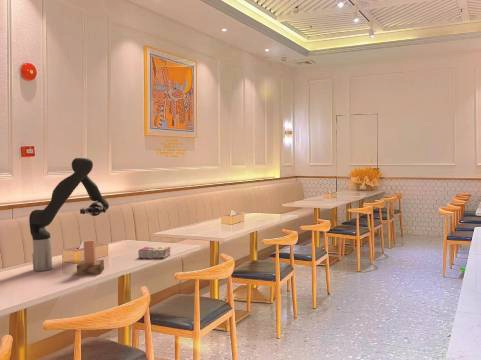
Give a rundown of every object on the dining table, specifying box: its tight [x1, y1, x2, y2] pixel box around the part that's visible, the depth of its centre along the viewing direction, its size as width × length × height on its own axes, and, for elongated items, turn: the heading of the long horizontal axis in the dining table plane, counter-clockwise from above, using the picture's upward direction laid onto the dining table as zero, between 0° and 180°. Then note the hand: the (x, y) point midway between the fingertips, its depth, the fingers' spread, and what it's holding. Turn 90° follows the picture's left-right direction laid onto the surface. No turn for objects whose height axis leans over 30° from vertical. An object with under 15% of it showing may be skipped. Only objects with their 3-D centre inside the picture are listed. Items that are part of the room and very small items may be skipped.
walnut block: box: [76, 259, 105, 276], centre depth 267 cm, size 12×12×5 cm
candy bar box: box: [138, 246, 171, 259], centre depth 301 cm, size 11×5×16 cm
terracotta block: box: [83, 238, 97, 264], centre depth 267 cm, size 5×5×12 cm
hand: (91, 211), depth 287 cm, fingers open, 8 cm apart
